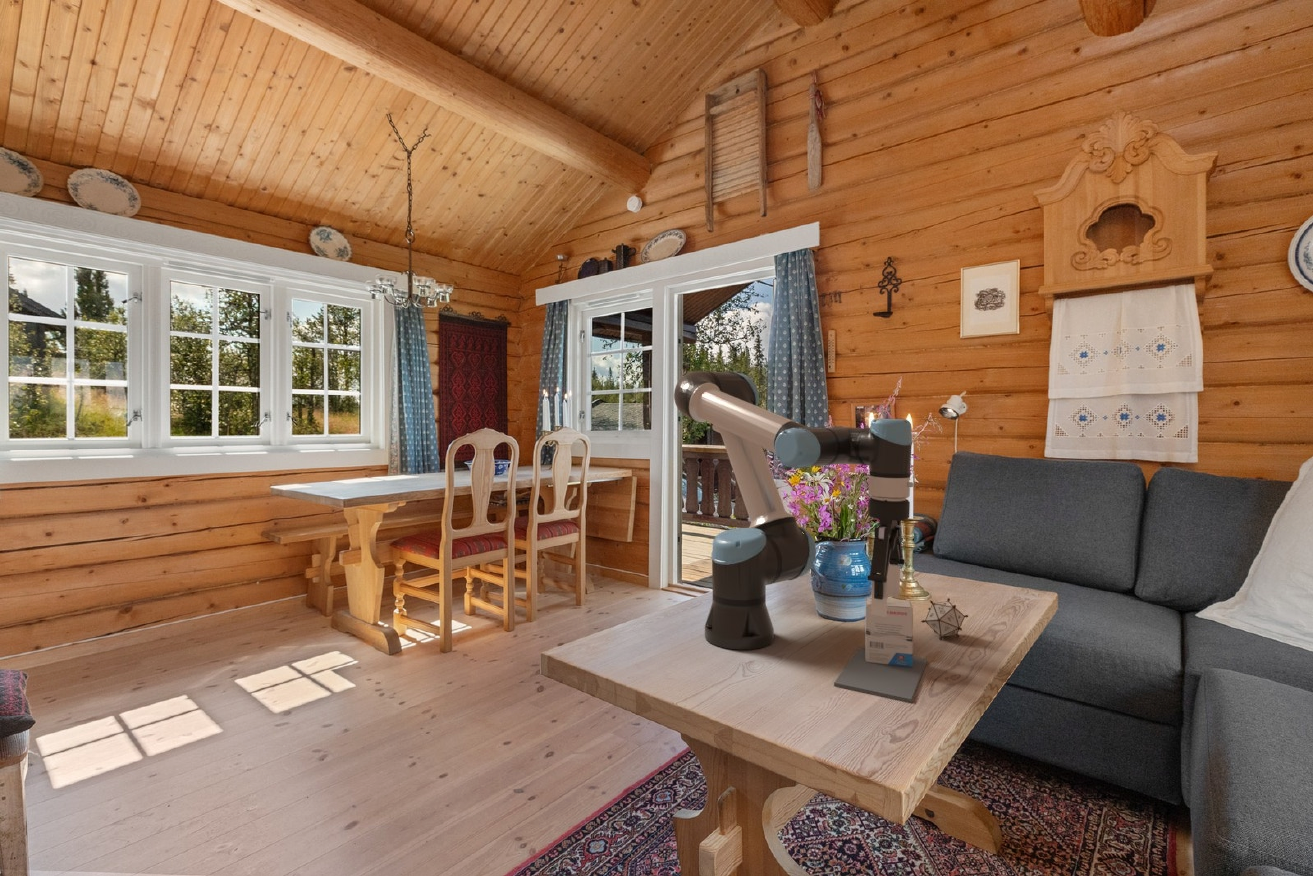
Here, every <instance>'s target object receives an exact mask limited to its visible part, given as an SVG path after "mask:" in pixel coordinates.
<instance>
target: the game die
mask: <svg viewBox="0 0 1313 876" xmlns="http://www.w3.org/2000/svg"><path fill="white" fill-rule="evenodd" d="M950 600H951V599H950V597H948V598H947V600H946V601H941V602H934V601H933V600H929V601H930V602H929V603H930V604H931V606H930V607H928V608H927V609H928V612H927V615H926V617H925V620H924V619H923V620H921V621H920V622H921V623H923V624H925V623H926V624H927V625H928V626H929V628H931V629H932V630H933V631H934V633H936V634H937V635H938V636H939V640H940V641H942V640H943V637H950V636H956V637H957V638H960V634H959V632H960V631H961V632H962V631H963V629H962V625H963V622H964V620H965V618H969V615H968V614H965V615H964V613H962V612H961V611H960V610H959V609H958V608H956V607H957V605H956V604H952V603H951V602H950Z"/></svg>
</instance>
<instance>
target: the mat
mask: <svg viewBox="0 0 1313 876" xmlns="http://www.w3.org/2000/svg"><path fill="white" fill-rule="evenodd" d="M865 655H866V653H865V647H864V646H858V648H857V649H856V651H855V652H854V654H853V655H852V656H851V658H850V659H849V661H848V662H847V664H846V665H845V667H844V668H843V669H842V670H841V672H840V673H839V675H838V676H837V678H836V679H835V680H834V682H833V687H838V688H842V689H845V690H846V689H847V690H851V691H856V692H860V693H866V694H869V695H875V696H877V697H878V696H879V697H882V698H888V699H890V700H891V699H892V700H897V701H901V702H906V703H911V704H912V702H913V700H914V697H915V694H916V691H917V689H918V686H919V684H920V681H921V678H922V675H923V673H924V671H925V668H926V665H927V663H928V659H927V658H925V657H918V656H914V655H913V667H905V666H896V665H887V664H879V663H870V662H866V657H865Z"/></svg>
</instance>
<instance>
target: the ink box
mask: <svg viewBox="0 0 1313 876" xmlns="http://www.w3.org/2000/svg"><path fill="white" fill-rule="evenodd" d="M871 598H872V597H865V629H864V630H865V636H864V637H865V640H864V641H865V644H864V645H865V647H864V648H865V653H866V655H865V657H866V662H870V663H879V664H887V665H896V666H905V667H913V656H914V607H913V604H912V601H911V600H909V599H907V600H904V599H893V598H887V616H886V617H884V616H878V615H873V614H871Z"/></svg>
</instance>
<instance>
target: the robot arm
mask: <svg viewBox="0 0 1313 876" xmlns="http://www.w3.org/2000/svg"><path fill="white" fill-rule="evenodd" d="M673 397H674V399H673V400H674V402H675V406H676V407H677V409H678V411H679V412H681V414H682V415H684V416H685V417H688V418H689V419H691V420H694V421H695V422H698V423H706V422H708V423H710V425H711V428H712V430H713V431H715V432H716V433H719V434H720V436H721V438H722V442H723V444H724V447H725V450H726V454H727V456H728V460H729V462H730V464H731V468H732V470H733V474H734V477H735V480H736V482H737V486H738V488H739V491H740V494H741V496H742V500H743V503H744V505H745V508H746V513H747V515H748V518H749V520H750V525H749V527H741V528H731V529H727V530H724V531H721V532H719V533H718V534H716V536H715V537H714V539H713V541H712V551H711V565H712V567H711V571H712V575H711V577H712V579H711V581H712V590H711V591H712V600H711V601H712V602H711V606H710V608H709V612H708V615H707V618H706V620H705V621H706V622H705V625H704V638H705V640H706V641H707V642H708V643H710V644H712V645H714V646H716V647H720V648H724V649H729V650H730V649H731V650H741V651H742V650H743V651H744V650H755V649H757V650H758V649H761V648H765V647H767V646H769V645H771V644H772V643H773V642H774V639H775V637H774V636H775V634H774V633H775V628H774V625H773V623H772V619H771V615H770V613H769V609H768V607H767V601H766V599H767V598H766V596H767V595H766V590H767V589H766V588H767V587H766V586H769V585H772V584H777V583H781V582H786V581H793V580H795V579H798V578H800V577H803V576H805V575H806V574H808V573H809V572H810V571H811V570H812V568H813V566H814V562H815V561H816V558H817V557H816V556H817V547H816V542H815V540H814V538H813V536H812V534H811V533H810V531H808V530H806V529H805V528H804V527H802V526H799V525H798V523H797V520H796V518H795V516H794V514H791V513H789V512H787V511H786V509H785V507H784V503H783V501H782V498H781V496H780V493H779V490H778V486H777V483H776V481H775V479H774V476H773V474H772V471H771V467H770V465H769V462H768V460H767V457H766V454H765V451H764V449H765V450H767V451H770V452H772V453H773V454H774V455H776V458H777V459H778V460H779V462H780V463H781V465H783V466H784V467H788V468H797V469H805V468H809V467H818V466H834V465H861V466H868V467H869V470H868V471H869V476H868V495H869V496H871V497H870V498H869V499H868V512H867V515H868V516H869V517H870V518H872V519H875V520H878V521H879V522H878V523H879V524H878V526H875V527H874V537H873V539H874V540H873V549H872V555H871V564H870V565H871V566H870V572H869V575H867V581H871V597H870V598H871V614H873V615H878V616H884V617H886V616H887V599H888V596H889V597H894V598H900V591H901V590H900V587H901V586H900V585H901V565H905V559H903V557H904V555H903V549H902V548H903V547H902V532H901V530H902V529H901V526H902V525H901V523H902V521H907V520H908V519H910V511H911V510H910V509H911V502H910V501H909V499H908V498H909V497H910V495H911V494H910V493H911V492H910V491H911V488H913V487H914V482H913V481H911V464H912V463H911V461H912V446H913V443H914V442H913V440H912V439H913V433H912V423H911V421H909V420H908V419H906V418H905V419H904V418H903V419H901V418H873V419H872V420H871V423H870V425H869V427H867V428H863V427H850V426H849V427H848V426H841V425H840V426H838V425H837V426H827V427H810V426H806V425H805V424H801V423H800V422H796V421H794V420H792V419H789V418H787V417H785V416H783V415H779V414H777V413H775V412H773V411H770V410H767V409H765V408H762V407H760V406H758V405H759V403H758V401H759V400H760V395H759V390H758V387H757V385H756V383H755V382H754V381H753V379H751V377H749V376H748V375H746V374H745V373H741V372H740V373H739V372H736V371H724V372H723V371H709V370H708V371H707V370H694V371H690V372H689V373H686V374H685V375H683V376H682V377H681V378H680V379H679V380H678V382H677V383H676V385H675V388H674V392H673ZM910 481H911V482H910ZM802 532H803V533H804V534H803V533H802Z"/></svg>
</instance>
